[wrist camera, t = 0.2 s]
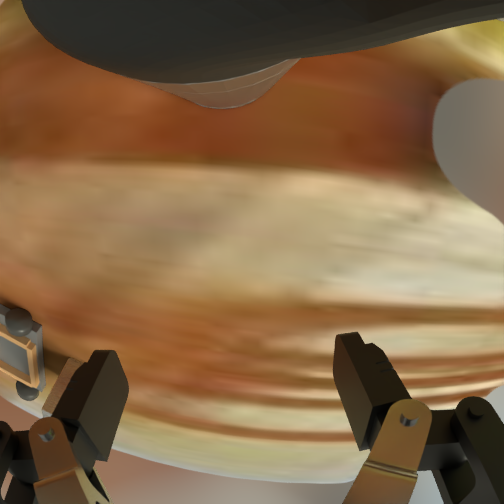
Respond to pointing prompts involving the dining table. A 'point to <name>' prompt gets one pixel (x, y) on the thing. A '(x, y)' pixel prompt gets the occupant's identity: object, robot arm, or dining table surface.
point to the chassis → (22, 351)
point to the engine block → (60, 386)
